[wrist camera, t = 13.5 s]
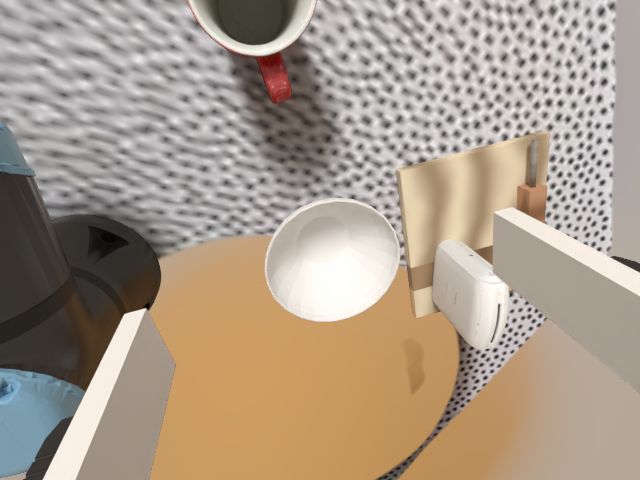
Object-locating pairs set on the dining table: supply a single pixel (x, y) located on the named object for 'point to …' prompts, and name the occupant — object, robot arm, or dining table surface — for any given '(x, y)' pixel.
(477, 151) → the light wooden cutting board
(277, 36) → the mug
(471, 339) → the photo printer
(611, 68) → the dining table surface
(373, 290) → the bowl
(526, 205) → the awl
